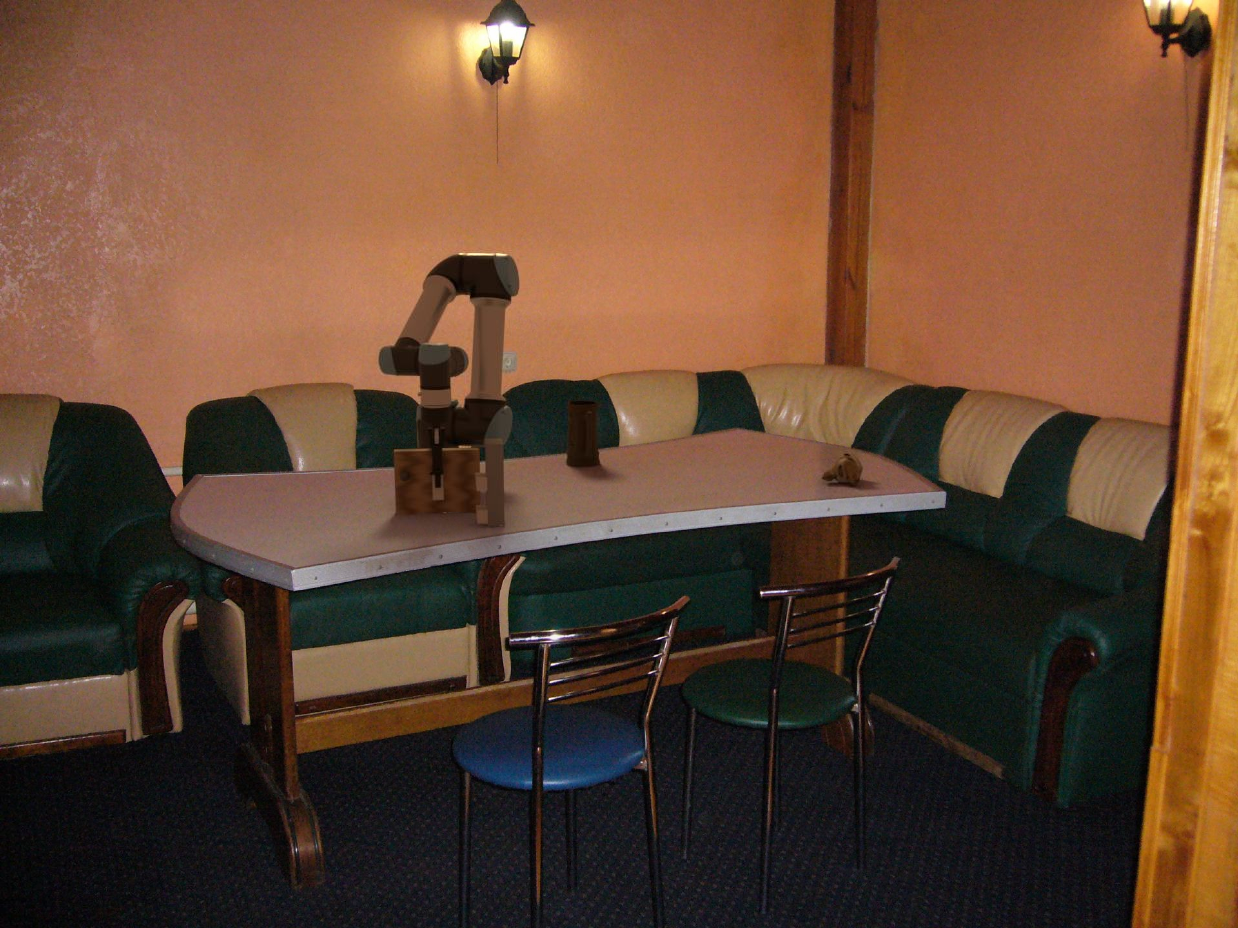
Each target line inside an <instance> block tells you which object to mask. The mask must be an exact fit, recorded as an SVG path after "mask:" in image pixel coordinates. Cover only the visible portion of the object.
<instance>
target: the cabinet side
mask: <svg viewBox="0 0 1238 928" xmlns="http://www.w3.org/2000/svg"><path fill="white" fill-rule="evenodd" d="M484 454H485V455H484V456H485V457H484V458H485V461H484V462H485V465H484V466H485V472H480V473H475V475H476V490H477V491H480V492H481V491H483V492H485V504H481V505H476V512H475V514H476V515H475V517H476V524H477V525H478V524H487V527H488V526H492V527H501V526H500V525H505V473H504V471H505V470H504V469H505V468H504V467H505V466H504V459H505V458H504V445H503V441H502V439H485V447H484ZM505 526H506V525H505Z"/></svg>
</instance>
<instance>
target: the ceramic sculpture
mask: <svg viewBox="0 0 1238 928" xmlns="http://www.w3.org/2000/svg"><path fill="white" fill-rule="evenodd" d="M863 469H864V467H863V466H862V463H861V461H860V459H859V458H858V457H857V456H856V455H855V454H854V453H851V454H849V453H844V454H842V455H841V456H840V457H839V458H838V459H836V460H835V462H834V463H833V465H832V468H830V469H826V471H825V472H824V473H823V475H822V477H821V480H824V481H825V482H832V481H833V480H835V481H837V483H840V484H848V483H850V484H852V485H854V484H857V483H859V481H860V479H861V475H862V473H863V471H864V470H863Z"/></svg>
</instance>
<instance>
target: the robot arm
mask: <svg viewBox="0 0 1238 928" xmlns="http://www.w3.org/2000/svg"><path fill="white" fill-rule="evenodd" d="M515 261H516V260H515V259H514V258H513V257H512V256H511V255H510V254H506V253H497V252H492V253H490V252H489V253H487V252H486V253H483V252H482V253H480V252H479V253H475V252H474V253H470V252H469V253H466V252H461V253H456V254H455V253H454V254H452V255H450V256H448V257H446V258H445V259H443V260H441V261H440V262H438V263H437V264H436V265H435V266H434V267H433V268H432V269H431V270H430V271H429V272H428V273H427V275H426V276H425V278H424V280H423V283H422V290H423V291H422V292H421V295H420V296H419V298H418V299H417V301H416V304H415V306H414V307H413V310H412V311H411V313H410V315H409V317H408V319H407V321H406V323H405V325H404V327H403V329H402V331H401V332H400V334H399V336H398V337H397V340H396V342H395V344H394V345H384V346H382V347H381V349H380V350H379V352H378V357H377V358H378V366H379V369H380V371H381V373H382V374H384V375H389V376H396V377H400V376H401V377H419V388H420V389H419V392H417V396H418V397H420V404H418V405H417V408H416V418H415V421H416V440H417V441H416V443H417V449H432V466H433V470H432V472H430V475H432V487H433V500H444V487H443V469H442V448H460V447H472V448H485V439H502V441H503V446H504V445H505V444H506V443H507V441H508V439H509V438H510V434H511V432H512V426H513V417H514V416H513V411H512V408H511V407H510V406H509V405H507V399H506V398H505V397H504V396H503V394H502V384H503V383H502V382H503V381H502V380H503V367H504V366H503V360H504V348H505V347H504V343H505V342H504V341H505V326H506V325H505V324H506V309H507V308H508V307H509V306H510V305H511V304H512V297H513V298H514V297H516V296H518V294H519V290H520V277H519V276H520V275H519V271H518V267H517V263H516V262H515ZM458 296H459V297H460V296H469V302H470V303H471V304H472V305H473V307H474V315H473V337H472V353H471V356H472V357H471V370H470V371H471V373H470V392H469V393H468V394H467V395H466V396H465V397H464V403H463V404H460V402H459V400H458V399H457V398H452V387H451V385H452V383H451V382H452V381H451V378H454V377H455V378H456V377H459V376H460V375H461V374H464V372H466V370H467V369H468V367H469V363H470V359H469V355H468V353H467V352H466V351H465V350H464V349H463V348H462V347H460V346H450V345H449V344H448V343H447V342H443V341H442V342H439V341H438V342H437V341H435V342H432V341H431V339H432V337H433V335H434V333H435V331H436V329H437V327H438V325H439V322H440V321H441V319H442V317H443V314H445V313H444V312H445V311H446V308H447V306H448V305H449V304H451V303H452V302H454V301H455V298H456V297H458ZM430 341H431V342H430Z"/></svg>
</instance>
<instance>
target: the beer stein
mask: <svg viewBox="0 0 1238 928" xmlns="http://www.w3.org/2000/svg"><path fill="white" fill-rule="evenodd" d="M599 406H600V405H599V402H597V401H594V400H583V399H582V400H571V401H569V402H568V403H567V406H566V407H567V408H566V409H567V410H566V411H567V412H568V414H567V415H568V418H567V419H568V421H567V423H568V424H567V425H568V426H567V448H566V461H565V464H566V465H568V466H570V467H579V468H583V467H585V468H586V467H594V466H595V467H596V466H599V464H600V463H601V461H600V451H599V442H598V441H599V438H598V437H599V434H598V433H599V432H598V412H599V410H600V407H599Z"/></svg>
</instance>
